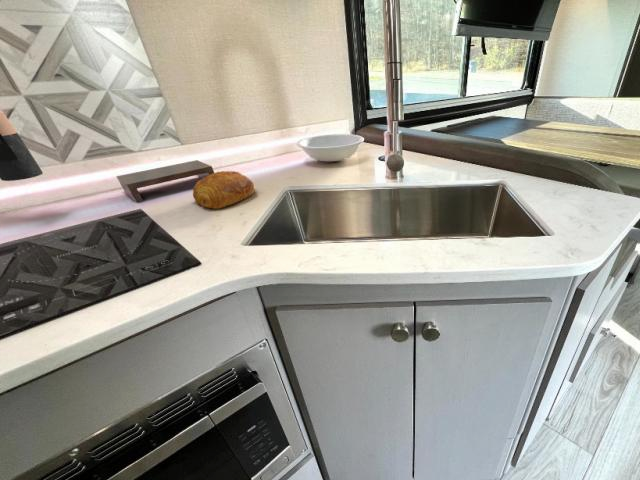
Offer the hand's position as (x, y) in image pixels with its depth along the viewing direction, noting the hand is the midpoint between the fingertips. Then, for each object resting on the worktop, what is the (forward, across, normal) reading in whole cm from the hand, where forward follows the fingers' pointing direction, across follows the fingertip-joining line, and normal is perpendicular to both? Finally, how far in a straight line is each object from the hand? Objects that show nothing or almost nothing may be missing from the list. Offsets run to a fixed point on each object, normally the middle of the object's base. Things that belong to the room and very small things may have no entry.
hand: (8, 157), depth 70 cm
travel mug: (+4, 0, 0) cm, 4 cm away
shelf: (+14, 0, -28) cm, 31 cm away
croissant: (+14, -23, -34) cm, 43 cm away
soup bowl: (+14, -13, -79) cm, 81 cm away
